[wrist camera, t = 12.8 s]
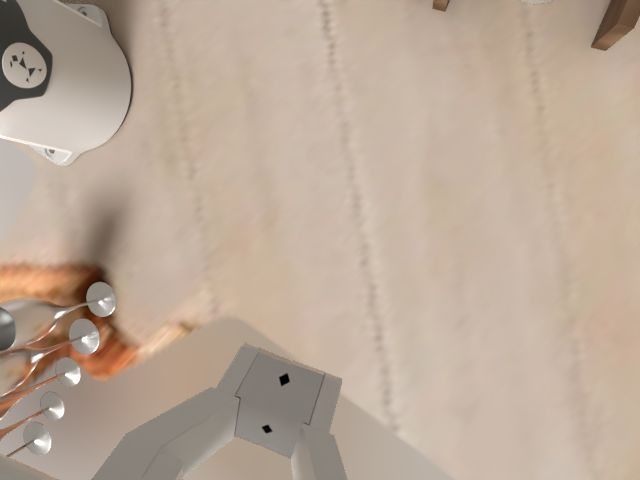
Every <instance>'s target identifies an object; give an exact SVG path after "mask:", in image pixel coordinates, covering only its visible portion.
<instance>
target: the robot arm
mask: <svg viewBox="0 0 640 480" xmlns="http://www.w3.org/2000/svg"><path fill="white" fill-rule="evenodd" d="M130 95H131V78H130V72H129V67H128V64H127V61H126V58H125V56H124V54H123V52H122V50H121V49H120V47H119V46H118V44H117V43H116V41H115V40H114V38H113V37H112V35H111V32H110V28H109V24H108V20H107V17H106V14H105V12H104V11H103V10H102V9H100V8H98V7H97V6H95V5H90V4H64V3H62V2H60V1H58V0H0V138H3V139H7V140H11V141H16V142H20V143H25V144H27V145H29V146H30V147H32V148H33V149H35V150H36V151H37V152H39V153H40V154H42V155H43V156H45V157H46V158H48V159H49V160H51V161H52V162H53V163H55V164H58V165H62V166H67V165H69V164H71V163H72V162H73V161H74V160H75V159H76V158H77V157H78V156H79V155H80V154H81V153H83V152H85V151H87V150H90V149H93V148H96V147H98V146H100V145H102V144H103V143H105V142H106V141H107V140H109V139H110V138H111V137H112V136H113V135H114V134H115V132H116V131H117V130H118V128H119V127H120V125H121V124H122V122H123V120H124V118H125V115H126V113H127V110H128V106H129V102H130ZM341 385H342V378H339V377H336V376H333V375H331V374H328V373H325V372H324V371H321V370H318V369H315V368H313V367H310V366H307V365H304V364H301V363H299V362H296V361H291V360H288V359H286V358H284V357H281V356H279V355H276V354H274V353H271V352H269V351H266V350H263V349H261V348H259V347H256V346H254V345H251V344H248V343H246V342H245V343H244V344H243V345H242V346H241V348H240V349H239V351H238V353H237V354H236V356H235V358H234V359H233V361H232V363H231V364H230V366H229V368H228V369H227V371H226V373H225V374H224V376H223V378H222V379H221V381H220V383H219V384H218V386H217V388H216V389H215V388H212V387H210V388H208V389H206V390H205V391H203V392H201V393H199V394H197V395H196V396H194V397H192V398H190V399H188V400H186V401H185V402H183V403H181V404H179V405H177V406H176V407H174V408H172V409H170V410H168V411H167V412H165V413H163V414H161V415H160V416H157V417H156V418H154V419H152V420H150V421H148V422H147V423H145V424H143V425H141V426H139V427H138V428H136V429H134V430H132V431H130V432H128V433H127V434H126V435H125V436H124V437H123V439H122V440H121V441H120V443H119V444H118V445H117V447H116V448H115V449H114V451H113V452H112V453H111V455H110V456H109V457H108V458H107V460H106V461H105V462H104V464H103V465H102V466H101V468H100V469H99V470H98V472H97V473H96V474H95V476H94V477H93V478H92V480H183V477H184V476H186V475H187V474H188V473H189V472H191V471H192V470H193V469H195V468H196V467H197V466H199V465H200V464H201V463H202V462H204V461H205V460H206V459H208V458H209V457H210V456H211V455H213V454H214V453H215V452H217V451H218V450H219V449H220V448H222V447H223V446H224V445H226V444H227V443H228V442H229V441H231V440H232V439H233V438H234V436H236V437H239V438H241V439H244V440H247V441H250V442H252V443H254V444H257V445H260V446H262V447H265V448H267V449H269V450H272V451H274V452H276V453H279V454H281V455H283V456H285V457H288V458H290V459H291V466H292V473H293V478H294V480H347V476H346V473H345V470H344V466H343V463H342V460H341V457H340V453H339V450H338V447H337V444H336V440H335V437H334V435H332V434H330V433H329V432H330V428H331V424H332V420H333V416H334V412H335V408H336V404H337V400H338V396H339V392H340V389H341ZM0 480H58V479H56V478H54V477H52V476H49V475H47V474H45V473H43V472H40V471H38V470H36V469H34V468H31V467H29V466H27V465H25V464H23V463H20V462H18V461H16V460H14V459H11V458H9V457H7V456H5V455H2V454H0Z"/></svg>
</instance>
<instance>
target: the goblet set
mask: <svg viewBox="0 0 640 480" xmlns="http://www.w3.org/2000/svg"><path fill="white" fill-rule="evenodd" d="M86 300H87V302H84V303H80V304H75V305H68V306H61V305H56V304H54V303H52V302H49V301H47V300H44V299H40V298H19V299H13V300H9V301H6V302H3V303H0V420H1V419H2V418H3V417H4V416H5V415H6V414H7V413H8V412H9V411H10V410H11V409H12V408H13V407H14V405H16V403H18V402H19V401H20V400H21V399H22V398H23V397H25V396H26V395H27V394H29V393H30V392H32V391H34V390H35V389H37V388H39V387H41V386H43V385H45V384H47V383H49V382H51V381H53V380H55V379H57V378H58V379H59V381H60V382H61V383H62V384H63V385H65V386H69V387H70V386H74V385H76V384H77V383H78V382H79V380H80V376H81V372H80V368H79V365H78V364H77V363H76V362H75V361H74V360H73V359H71V358H68V357H64V358H61V359H60V360H59V361H58V362H57V364H56V375H57V376H55V377H53V378H51V379H49V380H47V381H44V382H42V383H40V384H37V385H35V386H32V387H29V388H26V389H23V390H18V391H12V390H14V389H15V388H17V387H18V386H19V385H21V384H22V383H23V382H24V381H25V380H26V379H27V378H28V377H29V376H30V374H31V373H32V372H33V370H34V368H35V367H36V365H37V364H38V362H39V361H40V360H41V358H43V357H44V356H45V355H47V354H48V353H50V352H52V351H54V350H56V349H59V348H61V347H63V346H66V345H68V344H72V346H73V347H74V349H75V350H76V351H78V352H79V353H82V354H91V353H93V352H94V351H95V350H96V349H97V348H98V345H99V341H100V336H99V332H98V329H97V327H96V326H95V325H94V324H93V323H92V322H91V321H90V320H88V319H83V318H81V319H77V320H76V321H74V322H73V323H72V325H71V327H70V330H69V339H70V340H69V341H66V342H63V343H61V344H58V345H55V346H52V347H48V348H43V349H35V348H31V347H27V345H30V344H32V343H34V342H36V341H38V340H40V339H42V338H43V337H45V336H46V335H47V334H49V333H50V332H51V331H52V330H53V329H54V327H55V326H56V325H57V323H58V322H59V320H60V319H61V318H62V317H63V316H64V315H65V314H67V313H68V312H70V311H73V310H75V309H77V308H80V307H83V306H86V305H88V307H89V309H90V310H91V311H92V312H93V313H94V314H95V315H97V316H100V317H106V316H108V315H110V314H111V313H112V312H113V311H114V309H115V307H116V296H115V293H114V291H113V289H112V288H111V287H110V286H109V285H108V284H106V283H104V282H96V283H94V284H92V285H91V286H90V287H89V289H88V291H87V295H86ZM40 406H41V409H42V410H41V411H40V412H38V413H36V414H34V415H32V416H30V417H28V418H26V419H25V420H22V421H20V422H18V423H16V424H14V425H12V426H9V427H7V428H4V429H1V430H0V441H1V439H3V438H4V437H5V436H6V435H7V434H9V433H10V432H11V431H13V430H14V429H16V428H17V427H19V426H20V425H22V424H24V423H26V422H27V421H29V420H31V419H32V418H34V417H36V416H38V415H39V414H41V413H43V414H44V415H45V416H46V417H47V418H49V419H51V420H58V419H60V418H61V417H62V416H63V414H64V403H63V400H62V399H61V397H60V396H59V395H58V394H57V393H55V392H47V393H45V394H44V395H43V396H42V398H41V401H40ZM23 437H24V442H25V445H23V446H22V447H20V448H19V449H17V450H15V451H14V452H12V453H10V454H8V455H6V456H7V457H9V458H10V457H11V456H13V455H14V454H16V453H17V452H19V451H20V450H22V449H24V448H25V447H27V448H28V449H29V450H30V451H31V452H32V453H34V454H36V455H44V454H46V453H47V452H48V451H49V450H50V447H51V435H50V433H49V431H48V429H47V428H46V427H45V426H44V425H43V424H41V423H38V422H31V423H29V424H28V425H27V426H26V427H25V429H24V433H23Z"/></svg>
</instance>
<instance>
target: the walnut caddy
mask: <svg viewBox="0 0 640 480" xmlns="http://www.w3.org/2000/svg"><path fill="white" fill-rule="evenodd" d="M448 2H449V0H434V2H433V9H437V10H441V11H445V10H446V8H447V5H448ZM639 16H640V0H611V2H610V5H609V7H608V9H607V12H606V14H605V16H604V18H603V21H602V23H601V25H600V28H599V30H598V32H597V34H596V37H595V39H594V41H593V44H592V46H591V47H592V48H596V49H600V50H604V51H606V50H607V49H608V48H610V47H611V46H612V45H613V44H615V43H616V42H617V41H618V40H620V39H621V38H622V37H623V36H625V35H626V34H627V33H628V32H630V31H631V30H632V29H633V28H634V27H635V25H636V22H637V20H638V18H639Z"/></svg>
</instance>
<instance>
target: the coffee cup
mask: <svg viewBox="0 0 640 480" xmlns="http://www.w3.org/2000/svg"><path fill="white" fill-rule="evenodd" d="M520 1H523V2H526V3H530V4H544V3H548V2H551V1H554V0H520Z"/></svg>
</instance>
